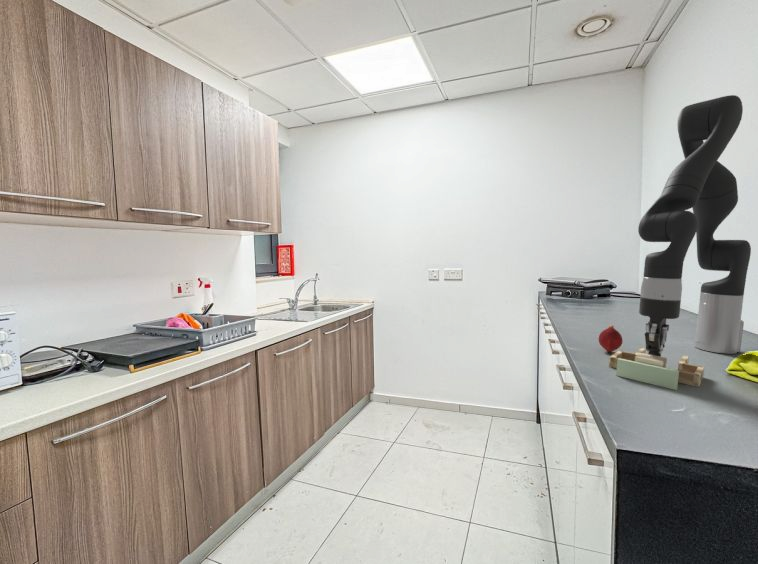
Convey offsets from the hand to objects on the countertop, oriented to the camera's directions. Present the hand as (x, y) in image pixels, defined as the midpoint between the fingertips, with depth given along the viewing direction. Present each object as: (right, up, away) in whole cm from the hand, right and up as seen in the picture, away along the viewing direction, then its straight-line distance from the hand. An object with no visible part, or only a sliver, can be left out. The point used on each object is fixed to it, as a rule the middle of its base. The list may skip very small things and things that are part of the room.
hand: (653, 367), depth 84 cm
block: (-4, -2, -3) cm, 5 cm away
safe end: (-6, -2, -6) cm, 9 cm away
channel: (+2, -1, +2) cm, 3 cm away
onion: (+1, 0, +17) cm, 17 cm away
